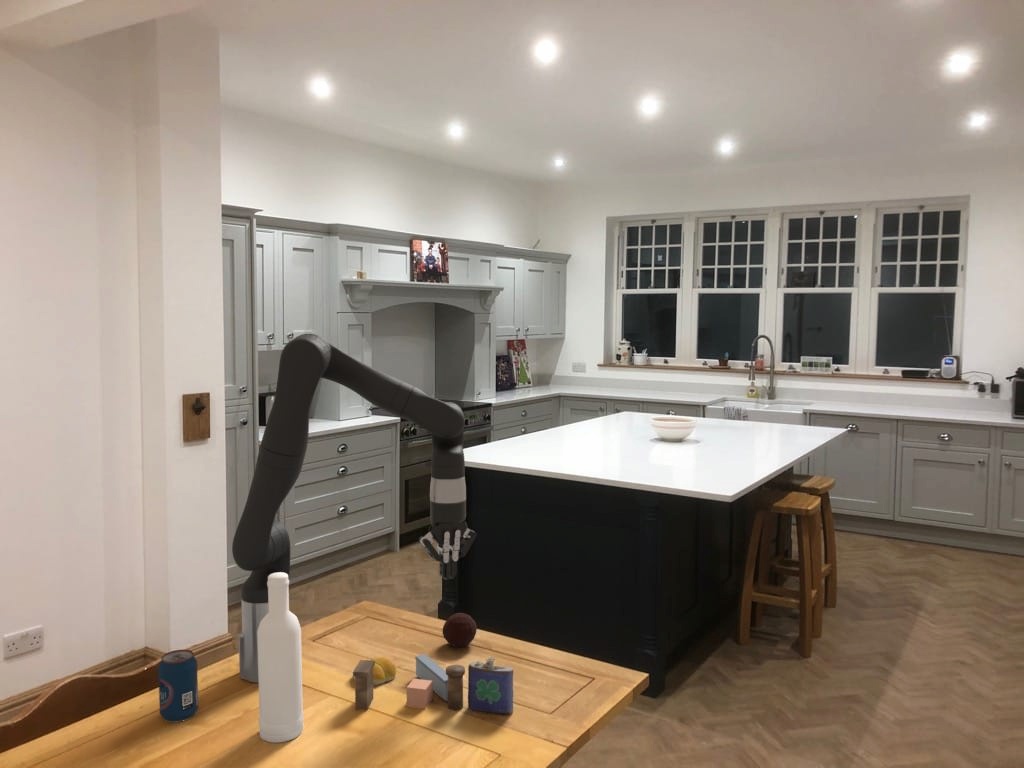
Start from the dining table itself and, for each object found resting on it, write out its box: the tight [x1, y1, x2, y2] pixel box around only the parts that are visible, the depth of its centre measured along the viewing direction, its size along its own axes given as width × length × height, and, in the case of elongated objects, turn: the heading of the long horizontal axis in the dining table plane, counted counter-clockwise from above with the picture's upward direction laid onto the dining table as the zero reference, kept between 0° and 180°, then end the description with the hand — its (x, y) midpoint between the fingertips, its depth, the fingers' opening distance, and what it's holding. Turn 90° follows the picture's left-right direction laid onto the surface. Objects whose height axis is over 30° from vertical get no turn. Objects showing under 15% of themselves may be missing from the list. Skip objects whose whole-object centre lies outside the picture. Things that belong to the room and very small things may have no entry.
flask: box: [467, 656, 514, 716], centre depth 158 cm, size 9×3×11 cm, turn 74°
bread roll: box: [352, 657, 397, 686], centre depth 174 cm, size 8×9×4 cm
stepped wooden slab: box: [352, 659, 375, 711], centre depth 161 cm, size 3×6×8 cm, turn 176°
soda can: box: [157, 649, 199, 723], centre depth 156 cm, size 7×7×12 cm
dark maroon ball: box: [442, 612, 478, 648], centre depth 190 cm, size 8×9×8 cm
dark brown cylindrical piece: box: [445, 664, 466, 712], centre depth 160 cm, size 4×4×8 cm
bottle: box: [257, 572, 304, 744], centre depth 149 cm, size 8×8×30 cm
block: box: [406, 678, 433, 709], centre depth 162 cm, size 4×4×4 cm
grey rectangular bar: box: [414, 653, 448, 702], centre depth 168 cm, size 14×2×4 cm, turn 31°
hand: (448, 578), depth 171 cm, fingers closed
